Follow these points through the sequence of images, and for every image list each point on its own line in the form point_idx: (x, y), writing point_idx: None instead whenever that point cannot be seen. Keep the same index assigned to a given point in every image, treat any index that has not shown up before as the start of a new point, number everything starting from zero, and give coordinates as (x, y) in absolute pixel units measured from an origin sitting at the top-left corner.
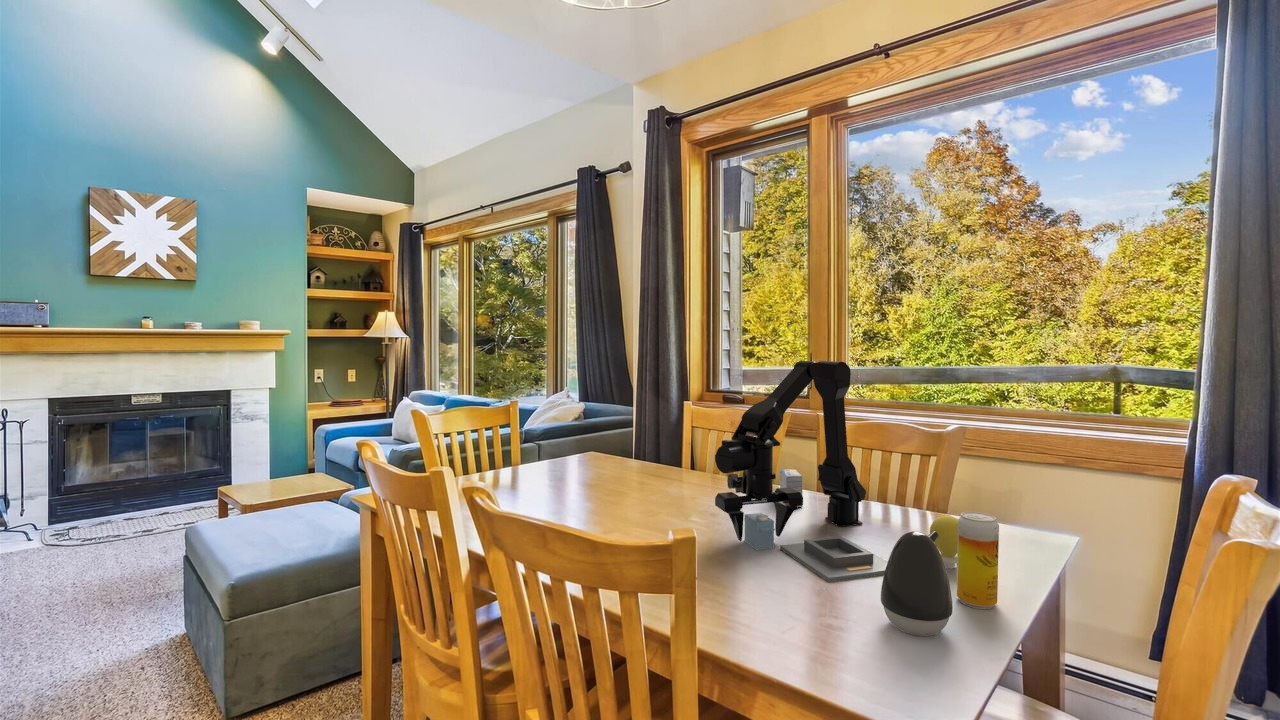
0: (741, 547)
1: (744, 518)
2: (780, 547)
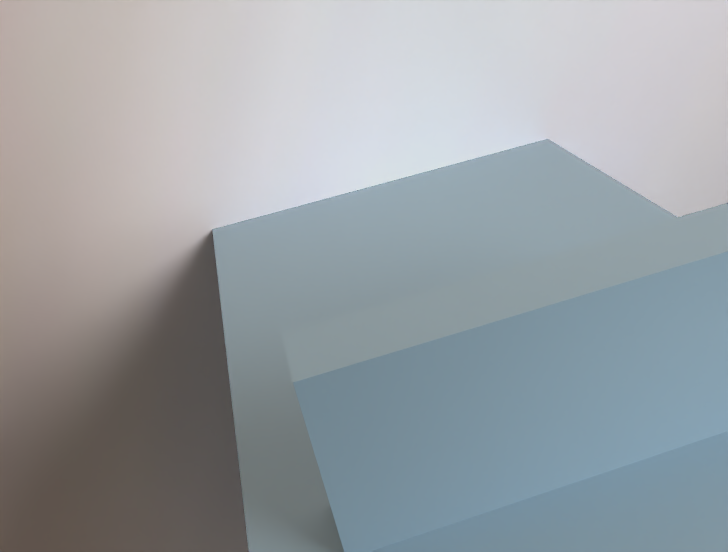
0: (108, 525)
1: (300, 392)
2: None
